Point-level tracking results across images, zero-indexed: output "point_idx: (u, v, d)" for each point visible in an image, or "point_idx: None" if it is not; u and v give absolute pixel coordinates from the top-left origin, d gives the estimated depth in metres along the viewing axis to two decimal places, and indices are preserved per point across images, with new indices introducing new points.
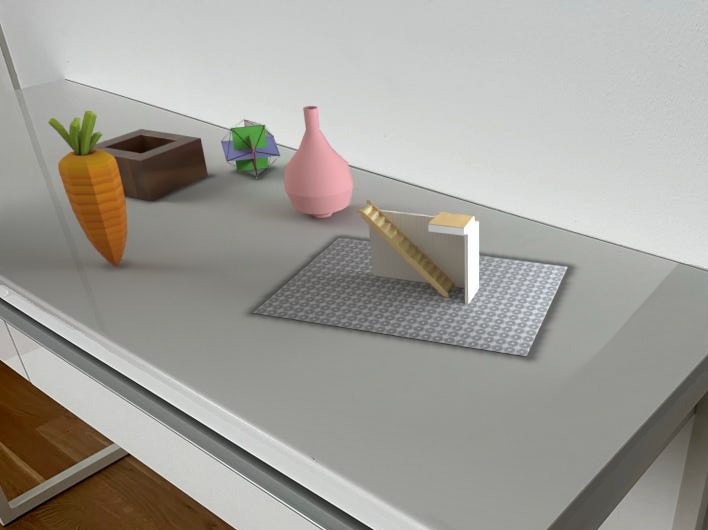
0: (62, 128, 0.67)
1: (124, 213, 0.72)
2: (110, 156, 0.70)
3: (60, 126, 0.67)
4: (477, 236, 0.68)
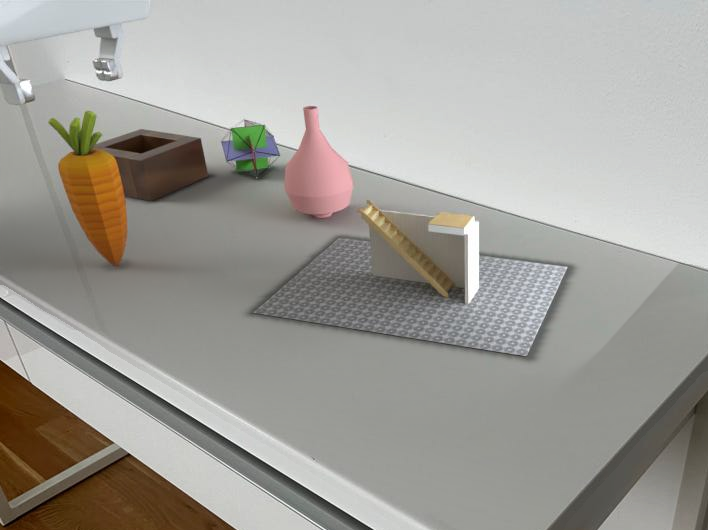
0: (62, 128, 0.67)
1: (124, 213, 0.72)
2: (110, 156, 0.70)
3: (60, 126, 0.67)
4: (477, 236, 0.68)
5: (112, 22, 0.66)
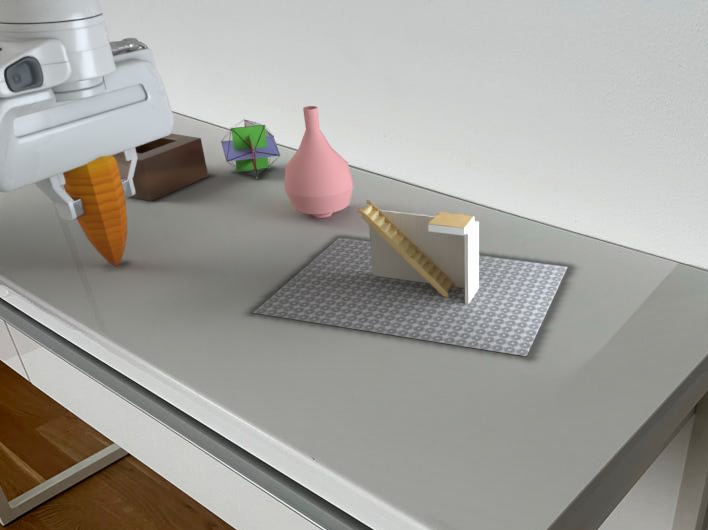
0: None
1: (124, 213, 0.72)
2: (110, 157, 0.70)
3: None
4: (477, 236, 0.68)
5: (139, 143, 0.72)
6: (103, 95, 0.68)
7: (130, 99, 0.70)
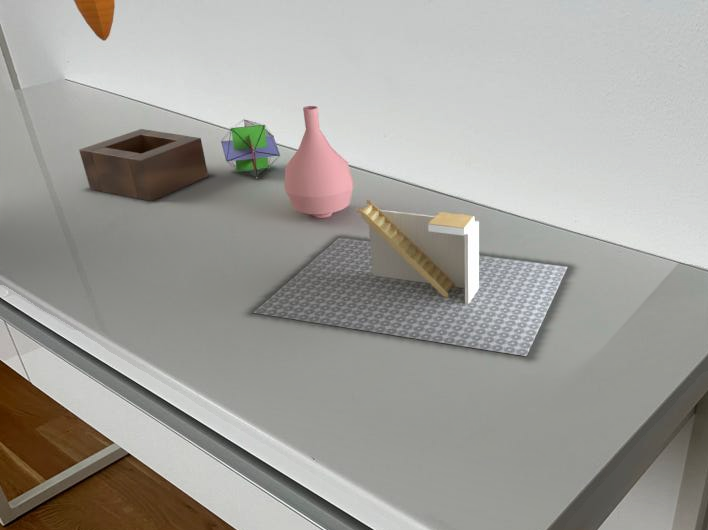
0: None
1: None
2: None
3: None
4: (477, 236, 0.68)
5: None
6: None
7: None
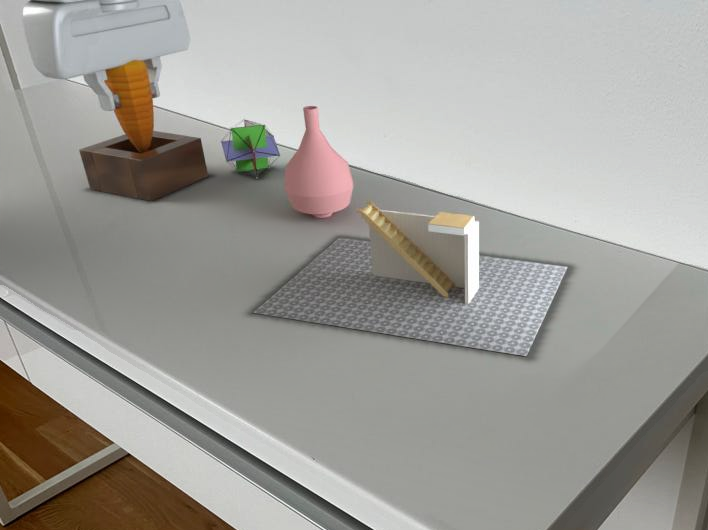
0: None
1: (151, 109, 0.91)
2: (141, 61, 0.88)
3: None
4: (477, 236, 0.68)
5: (163, 53, 0.91)
6: (136, 11, 0.86)
7: (157, 16, 0.89)
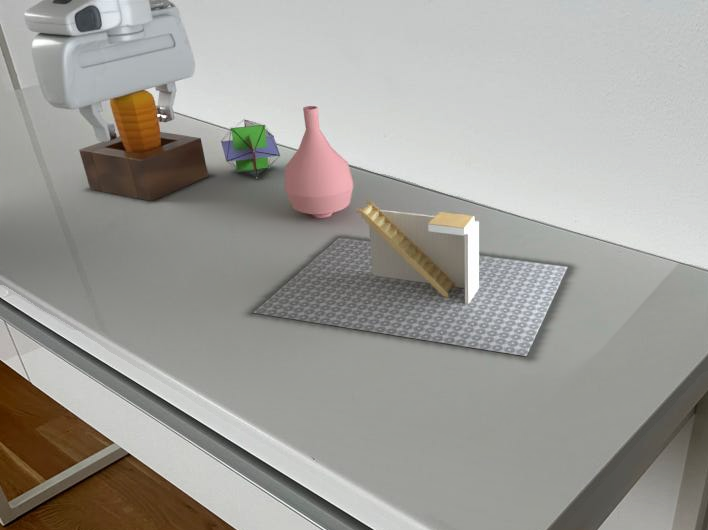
0: None
1: (159, 140, 0.93)
2: (149, 94, 0.90)
3: None
4: (477, 236, 0.68)
5: (169, 81, 0.92)
6: (142, 40, 0.88)
7: (162, 45, 0.91)
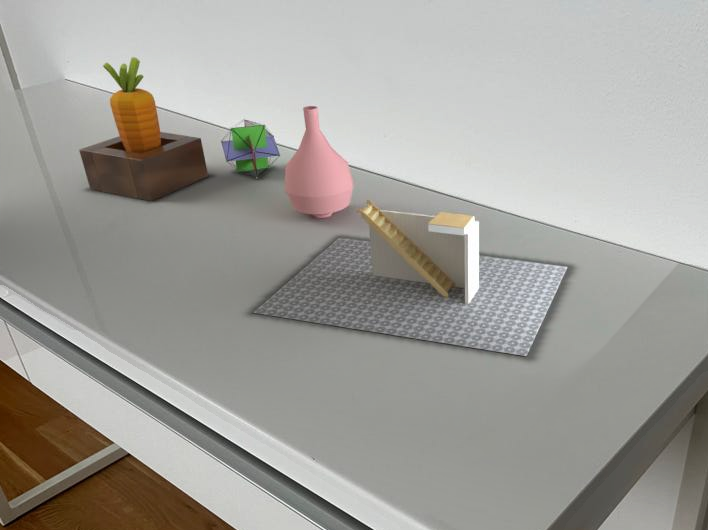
0: (113, 70, 0.88)
1: (159, 140, 0.93)
2: (149, 94, 0.90)
3: (112, 69, 0.88)
4: (477, 236, 0.68)
5: None
6: None
7: None
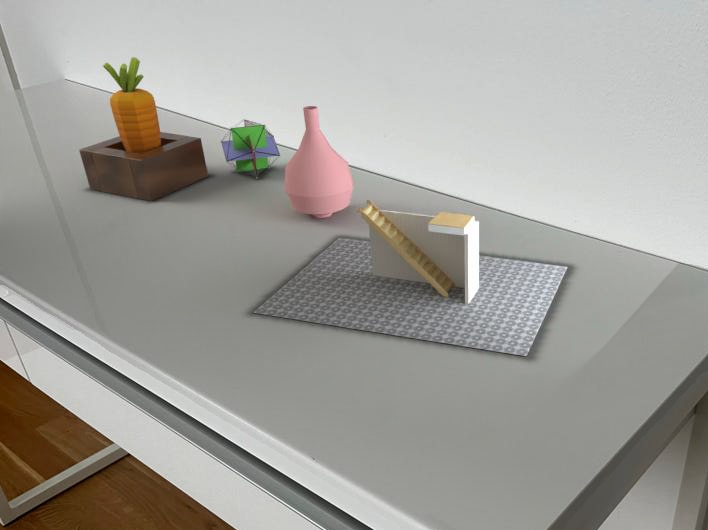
0: (113, 70, 0.88)
1: (159, 140, 0.93)
2: (149, 94, 0.90)
3: (112, 69, 0.88)
4: (477, 236, 0.68)
5: None
6: None
7: None
